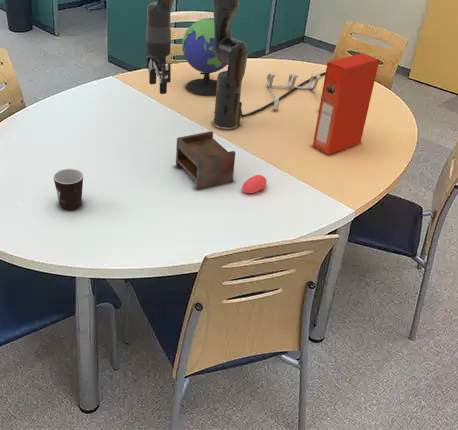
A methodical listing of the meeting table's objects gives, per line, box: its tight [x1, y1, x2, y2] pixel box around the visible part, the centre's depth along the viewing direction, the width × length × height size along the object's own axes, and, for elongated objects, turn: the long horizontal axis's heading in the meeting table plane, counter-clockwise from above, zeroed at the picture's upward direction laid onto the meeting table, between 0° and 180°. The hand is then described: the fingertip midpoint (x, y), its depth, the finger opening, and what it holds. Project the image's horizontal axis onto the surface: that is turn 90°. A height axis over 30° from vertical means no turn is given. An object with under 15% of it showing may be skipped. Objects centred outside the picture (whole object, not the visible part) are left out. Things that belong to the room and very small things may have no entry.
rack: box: [175, 130, 236, 191], centre depth 192 cm, size 13×16×11 cm
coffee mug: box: [53, 168, 84, 212], centre depth 173 cm, size 12×9×10 cm
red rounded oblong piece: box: [241, 174, 267, 194], centre depth 187 cm, size 5×9×6 cm, turn 120°
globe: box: [181, 17, 235, 97], centre depth 247 cm, size 22×22×30 cm
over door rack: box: [266, 72, 322, 111], centre depth 247 cm, size 22×29×10 cm
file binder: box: [312, 53, 380, 155], centre depth 207 cm, size 8×17×32 cm, turn 125°
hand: (157, 88), depth 189 cm, fingers open, 8 cm apart
